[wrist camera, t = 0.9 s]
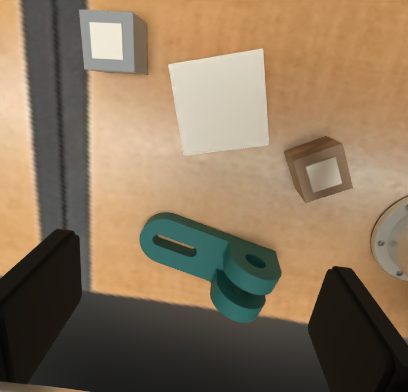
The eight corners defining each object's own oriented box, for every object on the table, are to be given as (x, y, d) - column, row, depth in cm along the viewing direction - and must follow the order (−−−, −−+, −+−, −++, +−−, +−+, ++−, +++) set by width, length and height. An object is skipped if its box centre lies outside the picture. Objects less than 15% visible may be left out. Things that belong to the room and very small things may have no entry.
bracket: (275, 250, 39) (286, 288, 31) (254, 287, 41) (260, 330, 34) (152, 205, 38) (134, 232, 30) (138, 245, 40) (119, 279, 33)
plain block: (257, 54, 30) (263, 48, 26) (263, 137, 34) (269, 145, 29) (177, 68, 32) (168, 64, 27) (189, 147, 35) (183, 155, 30)
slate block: (147, 24, 30) (131, 11, 25) (148, 74, 32) (133, 71, 27) (101, 21, 30) (77, 8, 25) (105, 72, 32) (83, 69, 27)
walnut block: (325, 136, 33) (343, 144, 28) (335, 174, 34) (354, 188, 29) (283, 151, 34) (293, 161, 29) (295, 187, 35) (306, 203, 30)
